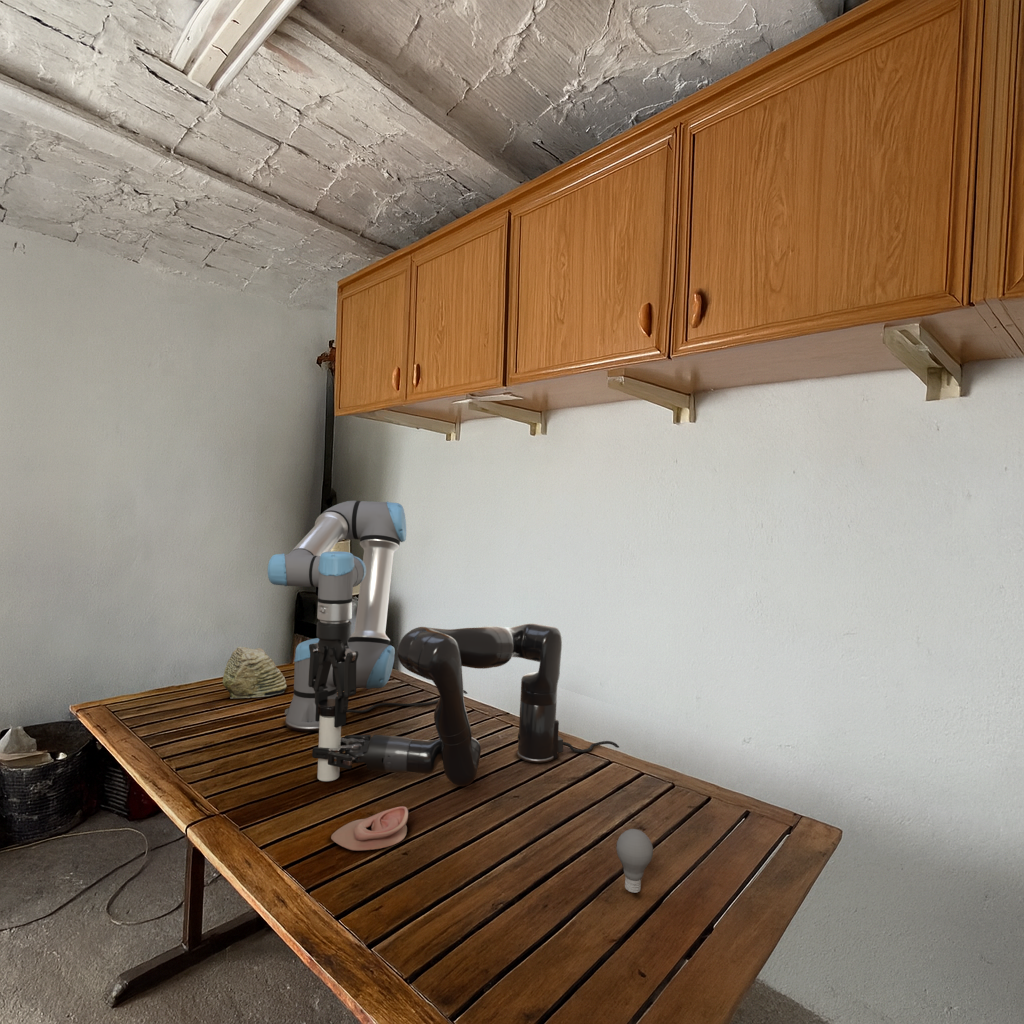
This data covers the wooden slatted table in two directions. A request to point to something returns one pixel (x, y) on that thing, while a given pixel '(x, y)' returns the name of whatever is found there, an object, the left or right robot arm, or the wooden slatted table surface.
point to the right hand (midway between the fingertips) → (318, 747)
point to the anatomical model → (374, 830)
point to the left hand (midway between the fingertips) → (330, 722)
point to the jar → (328, 739)
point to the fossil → (252, 674)
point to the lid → (327, 708)
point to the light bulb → (634, 857)
